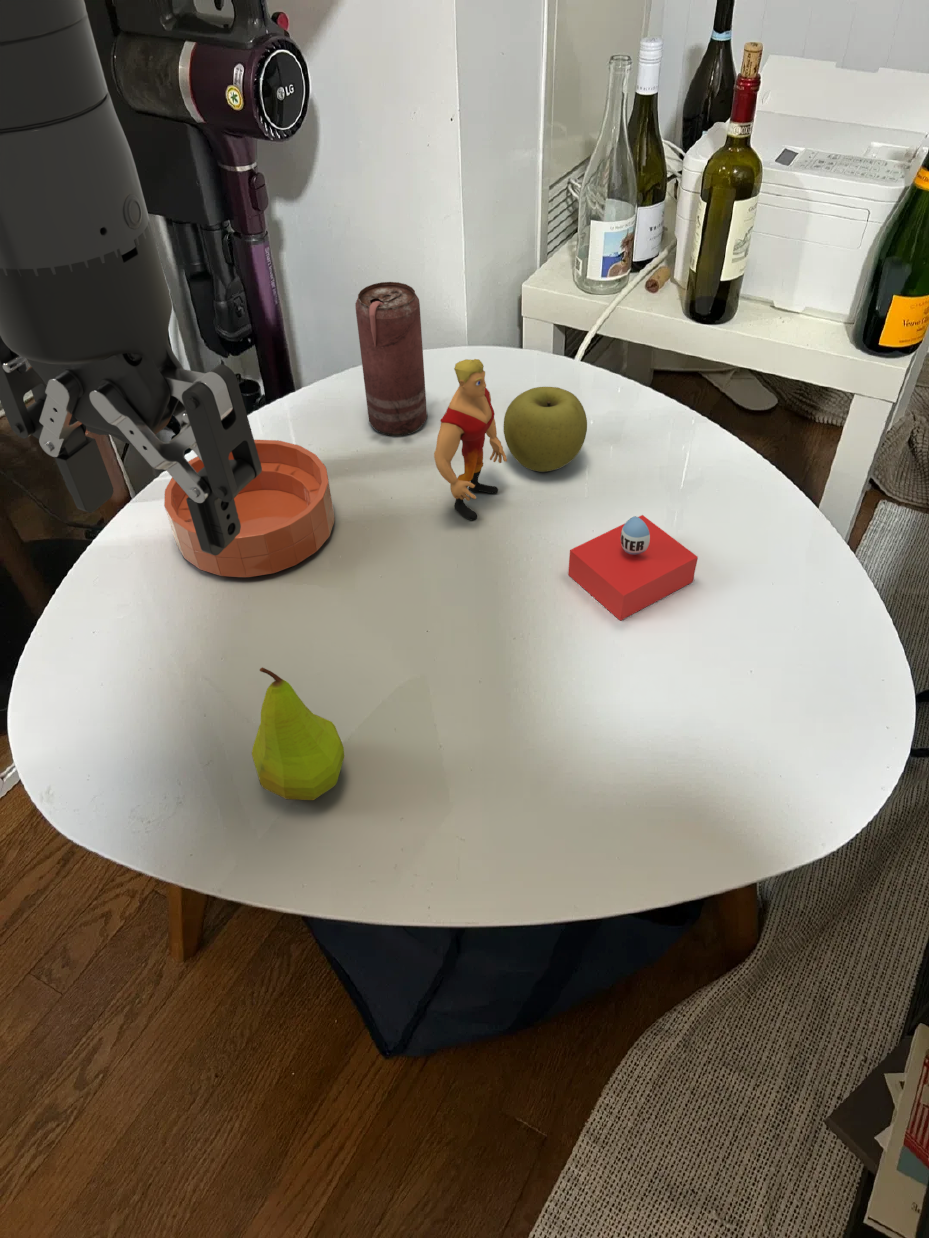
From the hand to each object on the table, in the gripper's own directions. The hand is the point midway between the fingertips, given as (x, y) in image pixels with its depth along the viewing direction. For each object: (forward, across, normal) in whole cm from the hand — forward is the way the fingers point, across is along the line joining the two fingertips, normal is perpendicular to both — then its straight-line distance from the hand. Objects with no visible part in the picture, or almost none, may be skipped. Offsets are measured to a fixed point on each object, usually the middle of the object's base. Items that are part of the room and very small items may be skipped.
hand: (157, 523), depth 50 cm
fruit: (+22, +5, +1) cm, 23 cm away
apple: (+22, +6, +43) cm, 49 cm away
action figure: (+22, +2, +34) cm, 41 cm away
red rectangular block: (+22, +19, +30) cm, 42 cm away
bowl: (+22, -14, +22) cm, 35 cm away
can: (+22, -11, +43) cm, 50 cm away
